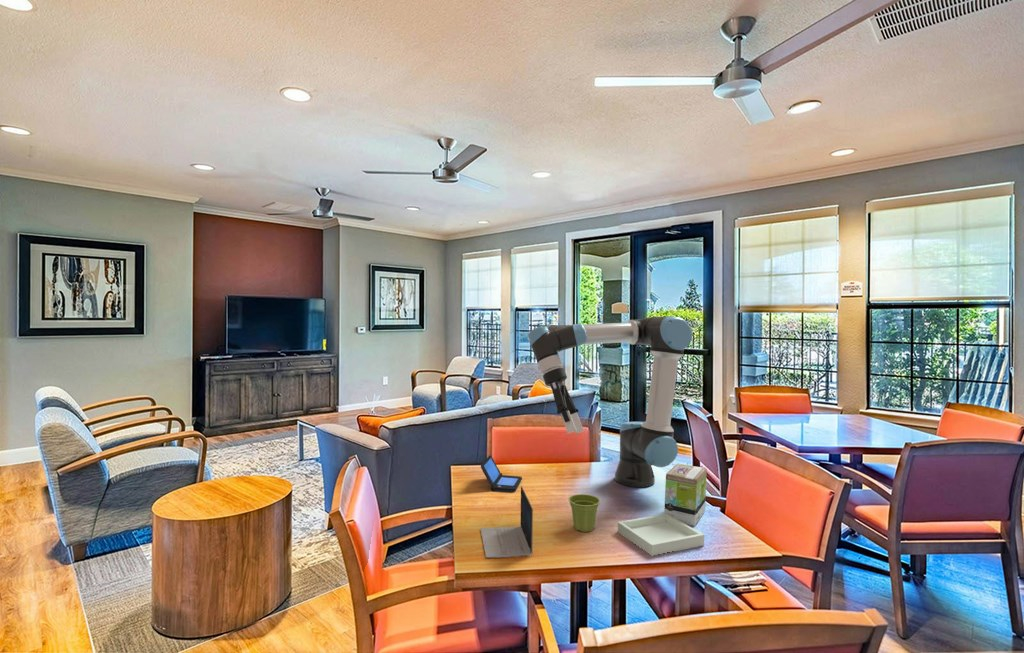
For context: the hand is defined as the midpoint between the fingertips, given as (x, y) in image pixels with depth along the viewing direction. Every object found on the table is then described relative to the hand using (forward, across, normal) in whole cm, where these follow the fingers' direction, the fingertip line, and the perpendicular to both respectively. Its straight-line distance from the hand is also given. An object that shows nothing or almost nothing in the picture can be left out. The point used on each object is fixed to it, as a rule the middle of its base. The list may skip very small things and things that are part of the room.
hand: (576, 432), depth 159 cm
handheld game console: (+7, -26, -39) cm, 47 cm away
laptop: (+23, +19, -27) cm, 40 cm away
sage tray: (+36, +2, +12) cm, 38 cm away
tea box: (+36, -18, +20) cm, 45 cm away
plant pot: (+27, +2, -8) cm, 29 cm away
